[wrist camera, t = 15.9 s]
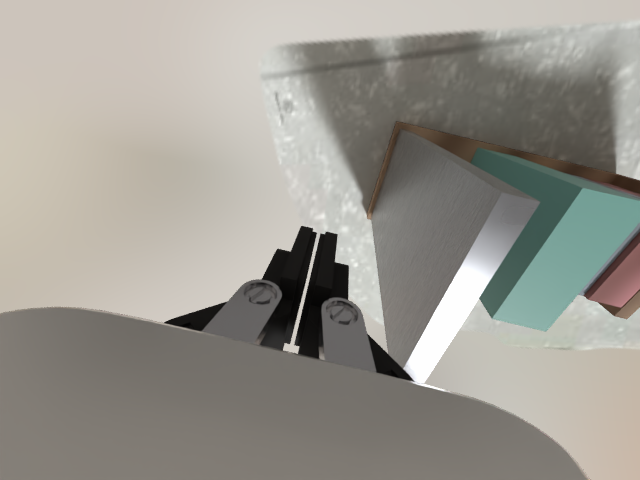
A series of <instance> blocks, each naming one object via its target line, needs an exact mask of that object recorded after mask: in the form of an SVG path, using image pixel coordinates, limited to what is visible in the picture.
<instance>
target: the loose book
mask: <svg viewBox="0 0 640 480" xmlns="http://www.w3.org/2000/svg"><path fill="white" fill-rule="evenodd" d="M471 164H472V165H474V166H476V167H478V168H480V169H482V170H483V171H485V172H487V173H489V174H491V175H493V176H494V177H496V178H498V179H500V180H502V181H503V182H505V183H507V184H509V185H511V186H513V187H514V188H516V189H518V190H520V191H522V192H524V193H525V194H527V195H529V196H531V197H533V198H535V199H536V200H538V201H540V204H539V205H538V207H537V209H536V210H535V212H534V213H533V215H532V216H531V218H530V219H529V221H528V222H527V224H526V226H525V227H524V229H523V230H522V232H521V233H520V235H519V236H518V238H517V240H516V241H515V243H514V244H513V246H512V247H511V249H510V250H509V252H508V253H507V255H506V257H505V258H504V260H503V261H502V263H501V264H500V266H499V267H498V269H497V271H496V272H495V274H494V275H493V277H492V278H491V280H490V281H489V283H488V284H487V286H486V288H485V289H484V291H483V292H482V294H481V295H480V297H479V299H480V300H481V302H482V304H483V305H484V307H485V308H486V310H487V312H488V313H489V315H490V316H491V318H492V319H495V320H499V321H504V322H508V323H512V324H516V325H520V326H525V327H529V328H533V329H537V330H541V331H547V330H548V329H549V328H550V327H551V325H552V324H553V323H554V322H555V321H556V320H557V318H558V317H559V316H560V315H561V314H562V313H563V311H564V310H565V309H566V308H567V307H568V306H569V304H570V303H571V302H572V301H573V300H574V299H575V297H576V296H577V295H578V294H579V293H580V291H581V290H582V289H583V288H584V287H585V286H586V284H587V283H588V282H589V281H590V280H591V279H592V277H593V276H594V275H595V274H596V273H597V272H598V270H599V269H600V268H601V267H602V266H603V265H604V263H605V262H606V261H607V260H608V259H609V258H610V256H611V255H612V254H613V253H614V252H615V251H616V249H617V248H618V247H619V246H620V245H621V244H622V242H623V241H624V240H625V239H626V238H627V237H628V235H629V234H630V233H631V232H632V231H633V230H634V228H635V227H636V226H637V225H638V224H639V223H640V199H638V198H635V197H632V196H629V195H626V194H623V193H620V192H618V191H615V190H612V189H609V188H606V187H603V186H600V185H597V184H594V183H592V182H589V181H586V180H583V179H580V178H577V177H574V176H571V175H569V174H566V173H563V172H560V171H557V170H554V169H551V168H548V167H545V166H543V165H540V164H537V163H534V162H531V161H528V160H525V159H522V158H519V157H517V156H513V155H508V154H504V153H500V152H495V151H491V150H486V149H482V148H477V150H476V152H475V154H474V156H473V159H472V161H471Z"/></svg>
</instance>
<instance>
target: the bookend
mask: <svg viewBox="0 0 640 480" xmlns="http://www.w3.org/2000/svg"><path fill="white" fill-rule="evenodd" d="M539 204H540V201H538V200H536V199H535V198H533V197H531V196H529V195H527V194H525V193H524V192H522V191H520V190H518V189H516V188H514V187H513V186H511V185H509V184H507V183H505V182H503V181H502V180H500V179H498V178H496V177H494V176H493V175H491V174H489V173H487V172H485V171H483V170H482V169H480V168H478V167H476V166H474V165H472V164H471V163H469V162H467V161H465V160H463V159H461V158H460V157H458V156H456V155H454V154H452V153H451V152H449V151H447V150H445V149H443V148H441V147H440V146H438V145H436V144H434V143H432V142H430V141H429V140H427V139H425V138H423V137H421V136H419V135H418V134H416V133H414V132H412V131H409V130H405V129H401V128H400V129H399V132H398V136H397V139H396V142H395V145H394V148H393V151H392V154H391V157H390V160H389V163H388V166H387V169H386V172H385V175H384V178H383V181H382V184H381V187H380V190H379V193H378V196H377V199H376V203H375V206H374V209H373V212H372V215H371V221H372V229H373V237H374V245H375V253H376V261H377V268H378V276H379V284H380V292H381V300H382V308H383V316H384V324H385V331H386V340H387V348H388V355H390V356H391V357H392V358H393V359H394V360H395V361H396V362H397V363H398V364H399V365H400V366H401V367H402V368H403V369H404V370H405V371H406V372H407V373H408V374H409V375H410V376H411V378H412V379H413V380H414V382H417V383H421V384H424V382H425V381H426V379H427V377H428V376H429V374H430V372H431V371H432V370H433V368H434V367H435V365H436V363H437V362H438V360H439V359H440V357H441V356H442V354H443V353H444V351H445V349H446V348H447V346H448V345H449V343H450V342H451V340H452V339H453V337H454V336H455V334H456V333H457V331H458V329H459V328H460V326H461V325H462V323H463V322H464V320H465V319H466V317H467V316H468V314H469V312H470V311H471V309H472V308H473V306H474V305H475V303H476V302H477V300H478V298H479V297H480V295H481V294H482V292H483V291H484V289H485V288H486V286H487V284H488V283H489V281H490V280H491V278H492V277H493V275H494V274H495V272H496V271H497V269H498V267H499V266H500V264H501V263H502V261H503V260H504V258H505V257H506V255H507V253H508V252H509V250H510V249H511V247H512V246H513V244H514V243H515V241H516V240H517V238H518V236H519V235H520V233H521V232H522V230H523V229H524V227H525V226H526V224H527V222H528V221H529V219H530V218H531V216H532V215H533V213H534V212H535V210H536V209H537V207H538V205H539Z"/></svg>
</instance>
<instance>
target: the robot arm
mask: <svg viewBox="0 0 640 480" xmlns="http://www.w3.org/2000/svg"><path fill="white" fill-rule="evenodd" d="M312 231H313V228H309V227H304V226H301V228H300V230H299V233H298V235H297V238H296V240H295V243H294V245H293V248H292V250H291V252H289V251H285V250H281V249H277V250H276V252H275V254H274V256H273V258H272V260H271V262H270V264H269V266H268V268H267V270H266V272H265V274H264V276H263V278H262V280H251V281H249V282H246V283H245V284H243V285H242V286H241V287H240V288H239V289H238V291H237V292H236V293H235V294H234V295H233V297H231V298H230V300H229V301H228V302H225V303H221V304H218V305H215V306H212V307H208V308H205V309H202V310H199V311H196V312H193V313H189V314H186V315H183V316H180V317H177V318H174V319H171V320H169V321H166V322H164V323H161V322H156V321H152V320H148V319H143V318H139V317H133V316H128V315H123V314H118V313H112V312H107V311H102V310H94V309H86V308H72V307H47V308H30V309H22V310H15V311H9V312H4V313H0V480H591V479H590V478H589V477H588V476H587V474H586V473H585V472H584V470H583V469H582V468H581V467H580V466H579V464H578V463H577V462H576V461H575V459H574V458H573V457H572V456H571V455H570V454H569V453H568V452H567V451H566V450H565V449H564V448H563V447H562V446H561V445H560V444H559V443H558V442H556V441H555V440H554V439H552V438H551V437H550V436H548V435H547V434H546V433H544V432H543V431H541V430H540V429H538V428H537V427H535V426H534V425H532V424H530V423H528V422H527V421H525V420H523V419H521V418H520V417H518V416H516V415H514V414H512V413H510V412H508V411H506V410H503V409H501V408H499V407H497V406H495V405H493V404H490V403H487V402H484V401H481V400H478V399H476V398H473V397H469V396H465V395H462V394H458V393H454V392H451V391H448V390H444V389H440V388H437V387H433V386H429V385H425V384H421V383H417V382H414V380H413V379H412V378H411V376H410V375H409V374H408V373H407V372H406V371H405V370H404V369H403V368H402V367H401V366H400V365H399V364H398V363H397V362H396V361H395V360H394V359H393V358H392V357H391V356H390V355H388V354H387V353H386V352H385V351H384V350H383V349H382V348H381V347H380V346H379V345H378V344H377V343H376V342H375V341H374V340H373V339H372V338H371V337H370V336H369V335H368V334H367V331H366V327H365V323H364V319H363V315H362V313H361V310H360V309H359V308H358V306H357V305H355V304H354V303H353V302H351V301H349V300H348V277H349V266H348V265H344V264H340V263H336V262H335V254H336V244H337V235H338V234H334V233H330V232H326V233H325V235H324V234H320V238H319V243H318V247H317V251H316V255H315V259H314V264H313V268H312V272H311V277H310V281H309V285H308V289H307V293H306V298H305V302H304V306H303V310H302V315H301V319H300V323H299V327H298V331H297V336H296V340H295V345H296V346H300V347H299V352H298V354H296V353H292V352H287V351H283V347H284V343H288V344H290V342H291V338H292V334H293V329H294V325H295V322H296V318H297V313H298V310H299V306H300V302H301V298H302V294H303V290H304V286H305V282H306V278H307V274H308V269H309V265H310V261H311V256H312V252H313V248H314V243H315V239H316V234H317V233H316V232H312Z"/></svg>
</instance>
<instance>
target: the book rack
mask: <svg viewBox="0 0 640 480" xmlns="http://www.w3.org/2000/svg"><path fill="white" fill-rule="evenodd" d="M400 128H401V129H405V130H409V131H412V132H414V133H416V134H418V135H419V136H421V137H423V138H425V139H427V140H429V141H430V142H432V143H434V144H436V145H438V146H440V147H441V148H443V149H445V150H447V151H449V152H451V153H452V154H454V155H456V156H458V157H460V158H461V159H463V160H465V161H467V162H469V163H471V161H472V159H473V156H474V154H475V152H476V150H477V148H482V149H486V150H491V151H495V152H500V153H504V154H508V155H513V156H517V157H519V158H522V159H525V160H528V161H531V162H534V163H537V164H540V165H543V166H545V167H548V168H551V169H554V170H557V171H560V172H563V173H566V174H569V175H571V176H574V177H577V178H580V179H583V180H586V181H589V182H592V183H594V184H597V185H600V186H603V187H606V188H609V189H612V190H615V191H618V192H620V193H623V194H626V195H629V196H632V197H635V198H638V199H640V180H637V179H633V178H629V177H626V176H622V175H619V174H615V173H611V172H607V171H602V170H598V169H594V168H590V167H586V166H581V165H577V164H573V163H569V162H565V161H561V160H556V159H552V158H548V157H544V156H540V155H536V154H531V153H527V152H523V151H519V150H515V149H510V148H506V147H502V146H498V145H494V144H490V143H485V142H481V141H477V140H473V139H469V138H464V137H460V136H456V135H452V134H448V133H444V132H439V131H435V130H431V129H427V128H423V127H419V126H414V125H410V124H406V123H402V122H398V121H396V124H395V127H394V130H393V133H392V136H391V140H390V143H389V146H388V149H387V152H386V155H385V158H384V162H383V165H382V168H381V171H380V174H379V177H378V180H377V183H376V187H375V190H374V193H373V196H372V199H371V202H370V205H369V209H368V212H367V219H371V215H372V212H373V209H374V206H375V203H376V199H377V196H378V193H379V190H380V187H381V184H382V181H383V178H384V175H385V172H386V169H387V166H388V163H389V160H390V157H391V154H392V151H393V148H394V145H395V142H396V139H397V136H398V132H399V129H400ZM578 295H582V296H585V297H586V298H587V299H588V300H592V301H596V302H598V303H599V304H600V305H602V306H603V307H604V308H605V309H606V310H608V311H609V312H610V313H611V314H612V315H614V316H616V317H620V318H624V319H628V318H629V317H630V316H631V315H632V314H633V313H634V312H635V311H636V310H637V309H638V308H639V307H640V223H639V224H638V225H637V226H636V227H635V228H634V230H633V231H632V232H631V233H630V234H629V235H628V237H627V238H626V239H625V240H624V241H623V242H622V244H621V245H620V246H619V247H618V248H617V249H616V251H615V252H614V253H613V254H612V255H611V256H610V258H609V259H608V260H607V261H606V262H605V263H604V265H603V266H602V267H601V268H600V269H599V270H598V272H597V273H596V274H595V275H594V276H593V277H592V279H591V280H590V281H589V282H588V283H587V284H586V286H585V287H584V288H583V289H582V290H581V291H580V293H579V294H578Z"/></svg>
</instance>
